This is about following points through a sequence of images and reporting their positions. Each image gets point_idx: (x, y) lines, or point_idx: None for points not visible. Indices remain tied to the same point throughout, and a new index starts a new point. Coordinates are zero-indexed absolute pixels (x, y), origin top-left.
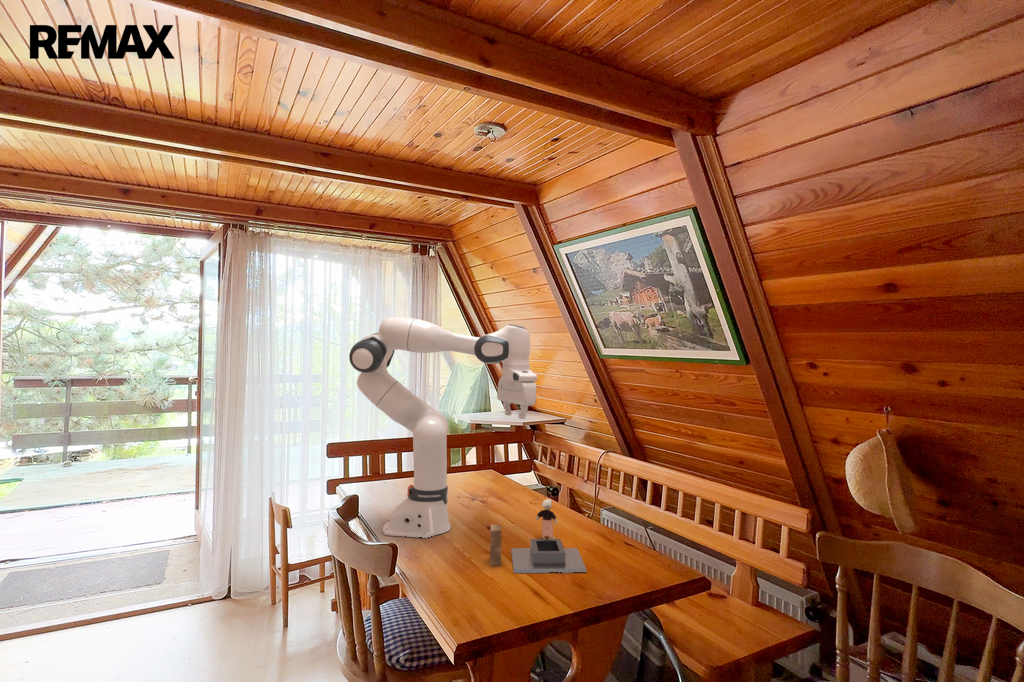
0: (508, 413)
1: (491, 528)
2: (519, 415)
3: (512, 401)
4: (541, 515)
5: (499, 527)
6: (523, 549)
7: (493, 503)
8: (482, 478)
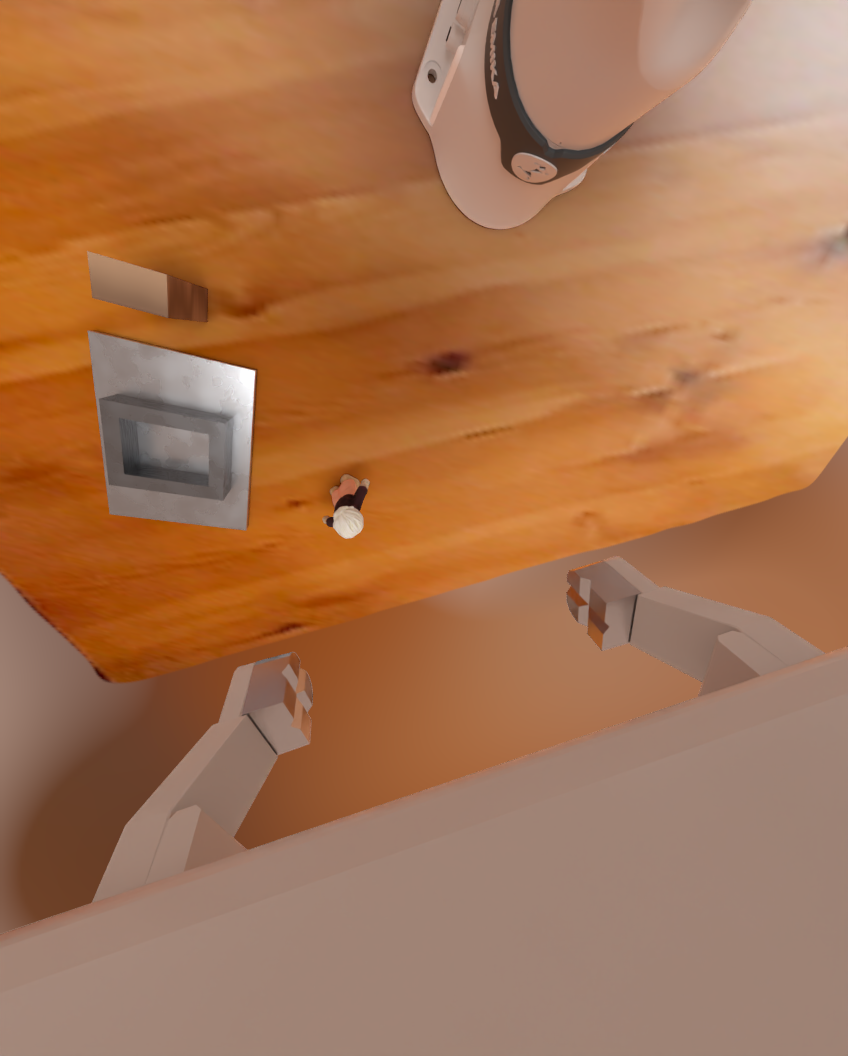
0: (580, 594)
1: (116, 262)
2: (260, 684)
3: (415, 828)
4: (354, 495)
5: (131, 301)
6: (243, 401)
7: (627, 424)
8: (817, 447)
